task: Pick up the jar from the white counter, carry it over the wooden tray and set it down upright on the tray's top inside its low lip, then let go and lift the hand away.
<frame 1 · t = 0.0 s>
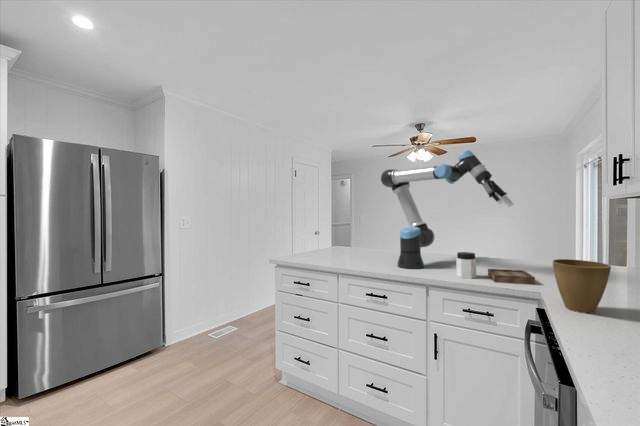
hand: (507, 205, 153), 36 cm above the worktop, tool tilted 35°, fingers open, 13 cm apart
jar: (466, 277, 152), on the worktop
plant pot: (580, 310, 101), on the worktop
wooden tray: (509, 279, 145), on the worktop
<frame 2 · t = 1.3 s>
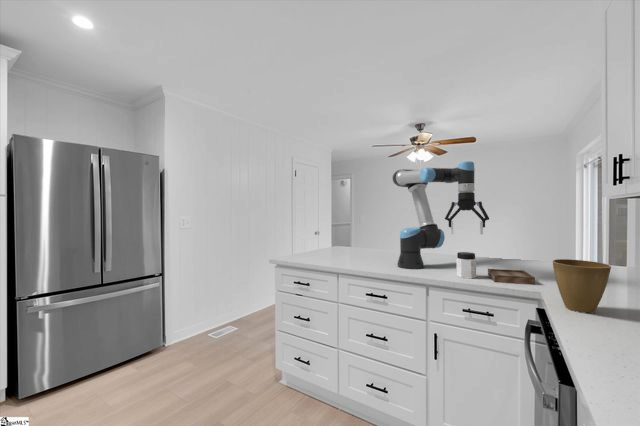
hand: (466, 234, 152), 22 cm above the worktop, tool pointing down, fingers open, 13 cm apart
nothing on the worktop moved.
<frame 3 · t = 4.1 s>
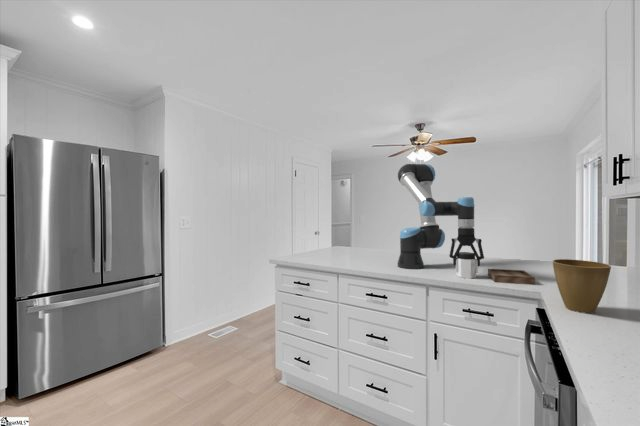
hand: (466, 272, 152), 2 cm above the worktop, tool pointing down, fingers closed on jar, 8 cm apart
jar: (466, 277, 152), on the worktop, touching gripper
everything else where it was.
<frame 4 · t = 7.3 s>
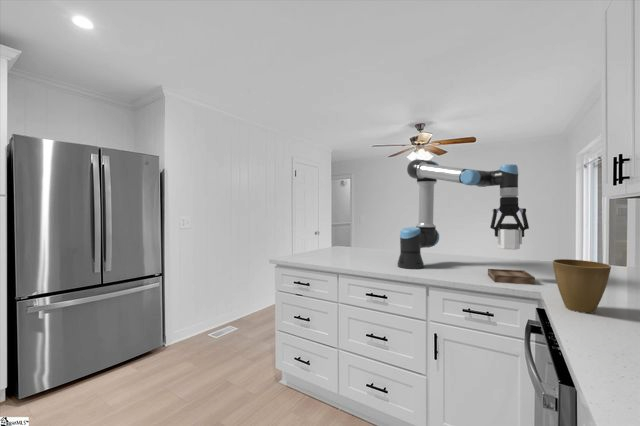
hand: (509, 243, 145), 17 cm above the worktop, tool pointing down, fingers closed on jar, 8 cm apart
jar: (508, 248, 145), point 15 cm above the worktop, touching gripper
everything else where it was.
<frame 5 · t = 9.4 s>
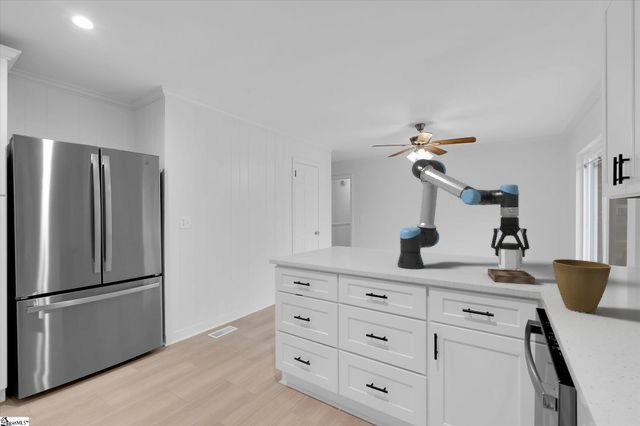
hand: (509, 263, 145), 8 cm above the worktop, tool pointing down, fingers closed on jar, 8 cm apart
jar: (509, 268, 145), point 5 cm above the worktop, touching gripper
everything else where it was.
when the fingers open (6 cm above the worktop, at t = 10.9 s): jar stays where it is, resting on wooden tray.
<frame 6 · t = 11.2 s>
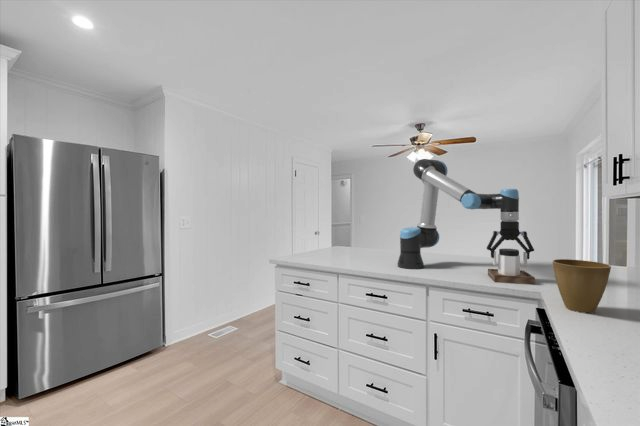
hand: (509, 265, 145), 7 cm above the worktop, tool pointing down, fingers open, 12 cm apart
jar: (508, 274, 145), point 2 cm above the worktop, touching wooden tray
everything else where it was.
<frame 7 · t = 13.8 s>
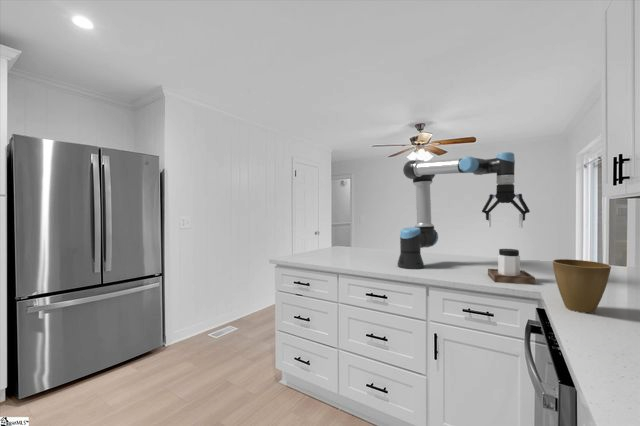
hand: (504, 227, 148), 25 cm above the worktop, tool pointing down, fingers open, 13 cm apart
nothing on the worktop moved.
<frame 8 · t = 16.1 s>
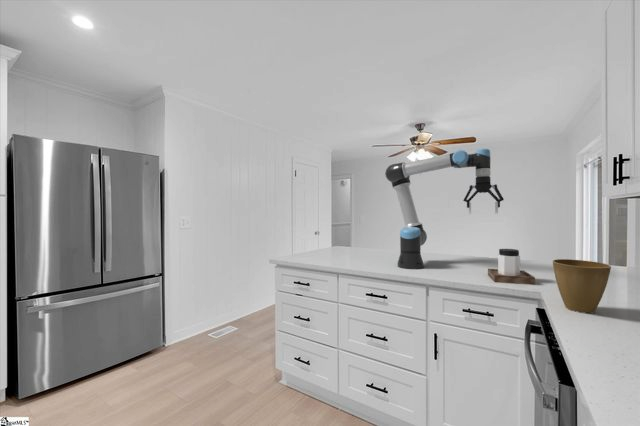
hand: (483, 213, 171), 32 cm above the worktop, tool pointing down, fingers open, 13 cm apart
nothing on the worktop moved.
at the end: jar inside the target area on the wooden tray (0.3 cm from its centre), point 2.3 cm above the wooden tray's base; jar tilted 0°; the gripper is holding nothing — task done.
